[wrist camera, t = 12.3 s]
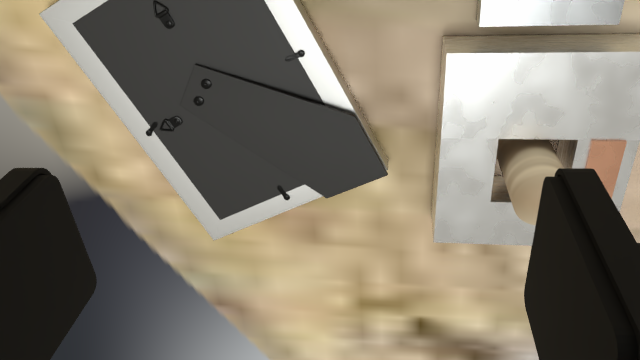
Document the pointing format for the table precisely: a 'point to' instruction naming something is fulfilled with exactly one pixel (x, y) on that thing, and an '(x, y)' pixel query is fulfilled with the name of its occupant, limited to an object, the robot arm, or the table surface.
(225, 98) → the picture frame
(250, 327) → the table surface
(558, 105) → the block
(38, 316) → the robot arm
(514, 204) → the peg
